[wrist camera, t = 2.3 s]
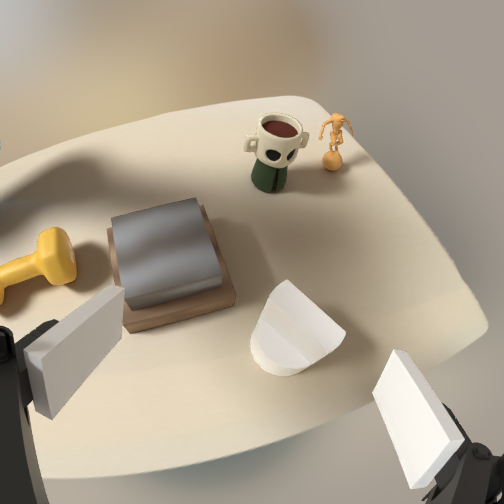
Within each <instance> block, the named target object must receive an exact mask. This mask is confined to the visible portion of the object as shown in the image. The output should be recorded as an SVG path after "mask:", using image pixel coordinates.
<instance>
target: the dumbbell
mask: <svg viewBox="0 0 504 504" xmlns="http://www.w3.org/2000/svg"><path fill="white" fill-rule="evenodd" d="M38 275H44V276H45V277H46V278H47V280H48V281H49V282H50V283H51V284H53V285H63V284H66V283H69V282H72V281H74V280H75V279H76V277H77V266H76V259H75V253H74V250H73V247H72V245H71V242H70V239H69V237H68V235H67V233H66V232H65V231H64V230H63V229H61V228H59V227H53V228H50V229H47V230H45V231H43V232H42V233H41V234H40V235H39V238H38V243H37V250H36V251H35V252H34V253H33V254H31V255H27V256H24V257H21V258H17V259H15V260H12V261H10V262H8V263H6V264H4V265H1V266H0V305H1V304H2V303H3V300H4V289H5V287H7V286H10V285H13V284H16V283H19V282H22V281H25V280H27V279H30V278H33V277H35V276H38Z"/></svg>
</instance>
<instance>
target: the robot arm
mask: <svg viewBox="0 0 504 504" xmlns="http://www.w3.org/2000/svg"><path fill="white" fill-rule="evenodd" d="M0 149H1V143H0ZM124 294H125V288H122V287H119V286H116V285H113V284H110V285H109V286H107V287H106V288H105V289H103V290H102V291H100V292H99V293H98V294H96V295H95V296H94V297H92V298H91V299H89V300H88V301H87V302H85V303H84V304H83V305H81V306H80V307H79V308H77V309H76V310H74V311H73V312H72V313H70V314H69V315H68V316H66V317H65V318H64V319H62V320H61V321H57V320H55V319H53V320H50V321H47V322H44V323H42V324H41V325H40V326H38V327H37V328H36V330H35V329H34V330H33V331H31V332H30V334H27V335H26V336H24V337H23V338H22V339H20V340H19V341H18V342H16V343H15V344H14V338H13V333H12V331H11V330H10V329H9V328H6V327H4V326H0V504H49V502H48V498H47V495H46V492H45V488H44V485H43V481H42V477H41V473H40V469H39V465H38V460H37V456H36V451H35V446H34V441H33V435H32V430H31V423H30V417H29V411H28V407H27V405H28V404H29V403H30V402H31V401H32V400H33V402H34V406H35V410H36V412H38V413H40V414H42V415H44V416H46V417H47V418H49V419H51V420H53V418H54V417H55V416H56V415H57V414H58V412H59V411H60V410H61V409H62V407H63V406H64V405H65V404H66V403H67V401H68V400H69V399H70V398H71V397H72V395H73V394H74V393H75V392H76V391H77V389H78V388H79V387H80V386H81V385H82V383H83V382H84V381H85V380H86V379H87V377H88V376H89V375H90V374H91V373H92V372H93V370H94V369H95V368H96V367H97V366H98V365H99V363H100V362H101V361H102V360H103V359H104V358H105V356H106V355H107V354H108V353H109V352H110V351H111V350H112V348H113V347H114V346H115V345H116V344H117V343H118V341H119V340H120V339H121V338H122V321H123V306H124ZM372 394H373V396H374V399H375V401H376V403H377V406H378V408H379V411H380V413H381V415H382V418H383V420H384V423H385V425H386V427H387V430H388V432H389V435H390V437H391V440H392V442H393V445H394V447H395V450H396V452H397V455H398V458H399V460H400V463H401V465H402V468H403V471H404V473H405V476H406V479H407V481H408V484H409V487H410V489H415V488H422V487H426V486H427V485H428V484H429V483H430V482H431V481H432V479H433V478H435V480H436V482H437V484H436V485H435V486H434V487H433V488H432V489H431V491H429V493H428V494H427V495H426V496H425V497H424V498H423V499H422V501H424V500H425V499H426V498H428V499H427V501H426V503H425V504H504V454H503V455H502V456H501V457H500V456H492V453H491V451H490V450H489V449H488V448H487V447H486V446H485V445H483V444H480V443H472V442H471V440H470V439H469V437H468V436H467V434H466V433H465V431H464V429H463V428H462V426H461V425H460V424H459V422H458V420H457V419H455V416H454V414H453V413H452V411H451V410H450V409H449V408H448V407H447V406H446V405H445V404H443V403H441V401H440V400H439V398H438V397H437V395H436V394H435V392H434V391H433V390H432V388H431V387H430V385H429V384H428V382H427V381H426V379H425V378H424V376H423V375H422V373H421V372H420V371H419V369H418V368H417V366H416V365H415V363H414V362H413V361H412V359H411V358H410V356H409V355H408V354H407V352H406V351H401V350H395V349H393V351H392V353H391V355H390V358H389V360H388V362H387V364H386V366H385V368H384V370H383V372H382V375H381V377H380V379H379V381H378V383H377V385H376V387H375V389H374V391H373V392H372ZM501 492H502V497H501V499H500V500H499V501H498V502H497V496H498V495H499V494H500V493H501Z"/></svg>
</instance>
